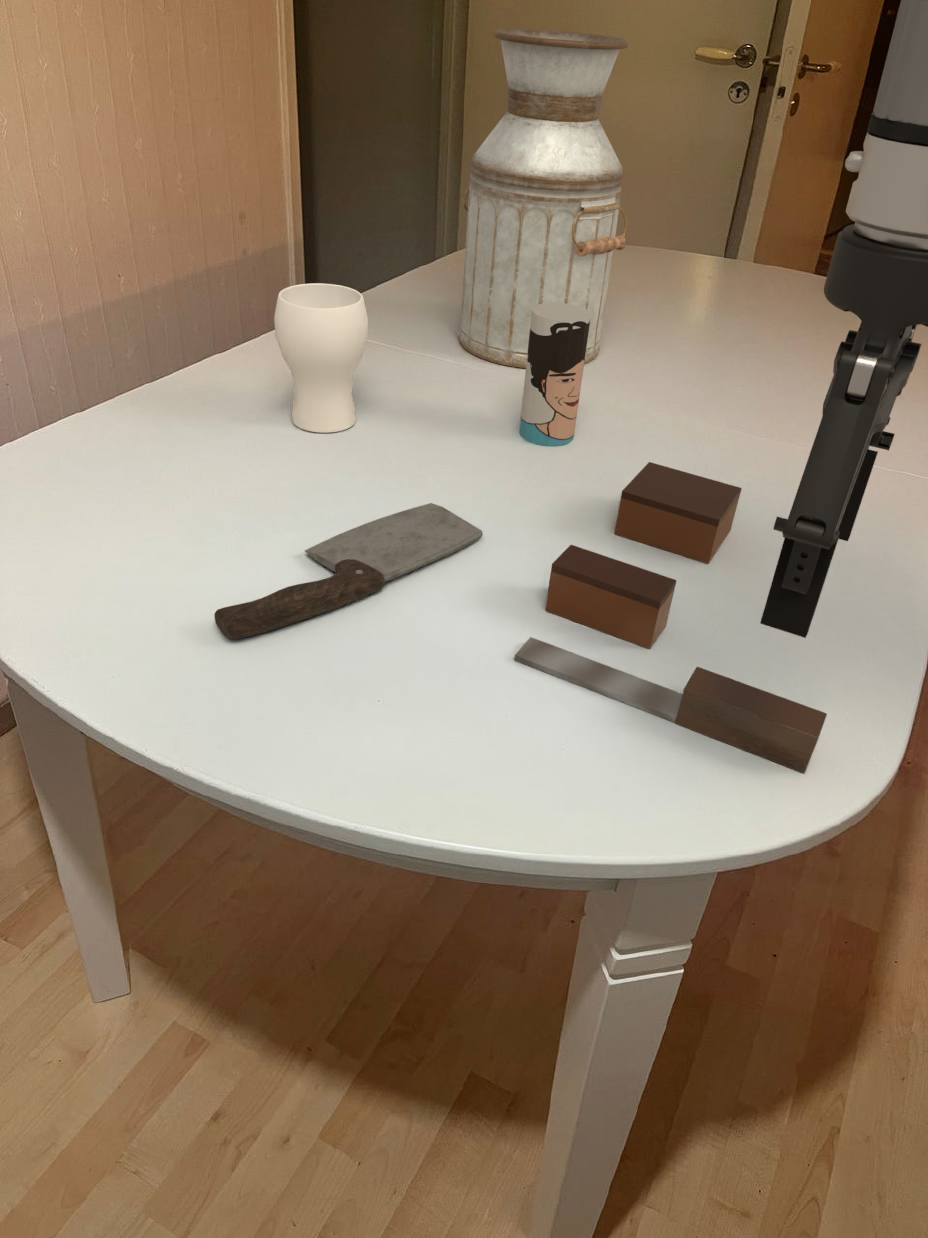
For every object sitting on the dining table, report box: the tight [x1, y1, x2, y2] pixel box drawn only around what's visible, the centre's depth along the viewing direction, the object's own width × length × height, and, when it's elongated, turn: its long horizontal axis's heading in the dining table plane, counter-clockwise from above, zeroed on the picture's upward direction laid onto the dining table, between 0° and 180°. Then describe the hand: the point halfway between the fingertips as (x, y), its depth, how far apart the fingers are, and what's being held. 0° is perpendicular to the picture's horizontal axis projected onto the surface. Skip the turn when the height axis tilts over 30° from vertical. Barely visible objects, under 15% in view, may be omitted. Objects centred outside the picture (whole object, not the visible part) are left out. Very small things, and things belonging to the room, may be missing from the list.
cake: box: [613, 461, 742, 565], centre depth 94 cm, size 10×8×5 cm
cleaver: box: [214, 502, 484, 640], centre depth 85 cm, size 30×10×2 cm, turn 137°
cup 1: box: [273, 282, 369, 434], centre depth 108 cm, size 11×11×15 cm
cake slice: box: [545, 544, 677, 650], centre depth 81 cm, size 10×4×5 cm, turn 60°
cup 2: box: [518, 303, 591, 447], centre depth 109 cm, size 7×7×15 cm
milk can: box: [457, 28, 629, 369], centre depth 128 cm, size 24×21×40 cm
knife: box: [513, 636, 828, 774], centre depth 72 cm, size 24×3×4 cm, turn 61°
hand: (808, 577), depth 60 cm, fingers open, 13 cm apart
